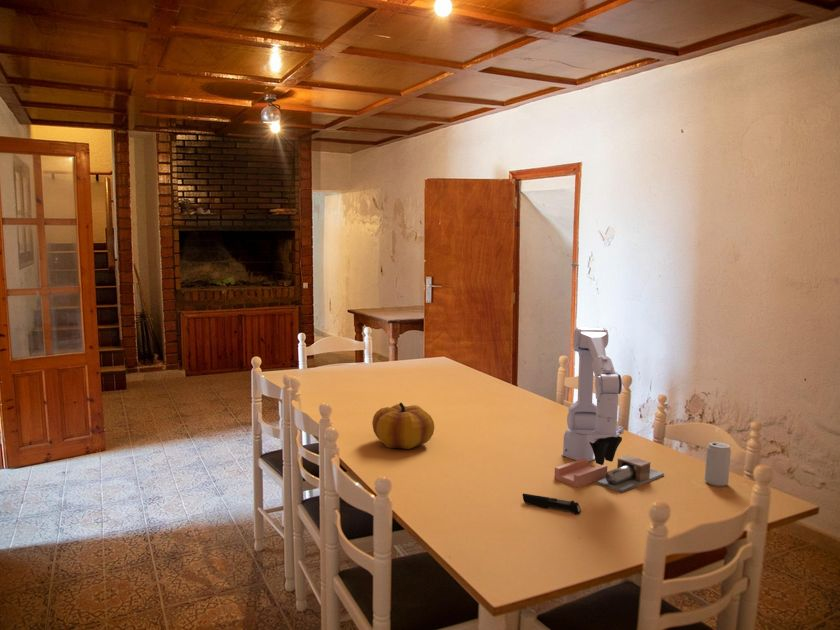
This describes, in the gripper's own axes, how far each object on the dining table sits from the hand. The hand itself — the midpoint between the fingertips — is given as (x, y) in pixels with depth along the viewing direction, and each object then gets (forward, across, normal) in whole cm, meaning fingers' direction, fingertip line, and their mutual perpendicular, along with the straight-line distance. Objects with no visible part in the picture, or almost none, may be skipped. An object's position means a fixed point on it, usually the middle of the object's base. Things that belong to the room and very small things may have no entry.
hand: (604, 462), depth 184 cm
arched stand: (+8, +15, 0) cm, 17 cm away
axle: (+6, +12, 0) cm, 13 cm away
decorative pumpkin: (+9, -21, +67) cm, 71 cm away
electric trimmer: (+9, -21, +1) cm, 23 cm away
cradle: (+8, +3, +10) cm, 13 cm away
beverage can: (+9, +32, -17) cm, 37 cm away
